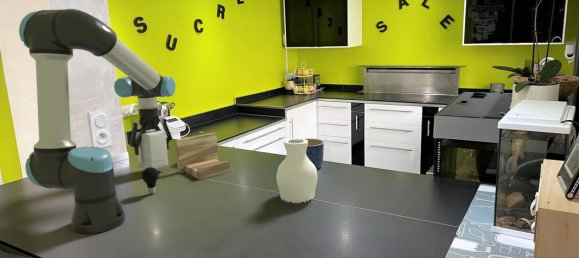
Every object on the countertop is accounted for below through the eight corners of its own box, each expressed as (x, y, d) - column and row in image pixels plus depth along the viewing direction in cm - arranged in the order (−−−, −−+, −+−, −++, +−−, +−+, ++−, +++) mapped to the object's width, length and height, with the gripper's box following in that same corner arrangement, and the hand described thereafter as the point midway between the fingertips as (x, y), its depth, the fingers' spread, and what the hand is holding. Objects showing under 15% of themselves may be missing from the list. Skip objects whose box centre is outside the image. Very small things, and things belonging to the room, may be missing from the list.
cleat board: (234, 170, 180) (232, 138, 177) (194, 180, 169) (192, 146, 166) (216, 163, 191) (214, 132, 188) (178, 172, 180) (175, 139, 177)
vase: (292, 186, 159) (290, 134, 155) (325, 194, 151) (325, 138, 147) (268, 199, 148) (266, 143, 144) (303, 207, 140) (301, 148, 136)
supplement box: (169, 165, 182) (166, 130, 179) (152, 170, 175) (149, 134, 172) (154, 162, 187) (151, 128, 184) (137, 167, 180) (134, 132, 177)
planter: (305, 161, 190) (304, 137, 188) (329, 165, 183) (329, 140, 181) (288, 168, 181) (288, 143, 178) (313, 173, 173) (313, 147, 171)
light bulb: (163, 193, 157) (161, 167, 154) (149, 198, 152) (146, 171, 150) (155, 189, 160) (152, 164, 158) (140, 194, 156) (137, 167, 154)
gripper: (170, 103, 186) (174, 153, 190) (116, 109, 172) (122, 163, 176) (178, 105, 180) (182, 156, 185) (122, 111, 166) (128, 166, 171)
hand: (152, 159), depth 181 cm, fingers closed on supplement box, 10 cm apart
